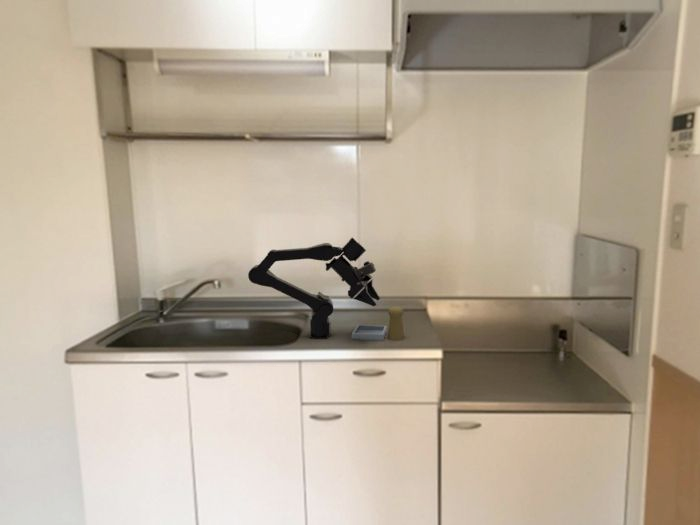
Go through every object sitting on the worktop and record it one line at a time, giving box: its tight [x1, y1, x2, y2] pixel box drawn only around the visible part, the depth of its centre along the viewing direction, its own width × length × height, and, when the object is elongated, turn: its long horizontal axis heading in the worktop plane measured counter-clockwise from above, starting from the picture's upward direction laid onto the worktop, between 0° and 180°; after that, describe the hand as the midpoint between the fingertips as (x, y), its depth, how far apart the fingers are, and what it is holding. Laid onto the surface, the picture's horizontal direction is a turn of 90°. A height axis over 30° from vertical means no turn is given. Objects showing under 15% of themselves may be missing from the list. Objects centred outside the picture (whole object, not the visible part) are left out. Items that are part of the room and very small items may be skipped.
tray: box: [351, 324, 388, 342], centre depth 166 cm, size 11×11×2 cm
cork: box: [387, 306, 406, 341], centre depth 163 cm, size 6×6×11 cm
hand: (377, 302), depth 163 cm, fingers open, 9 cm apart
